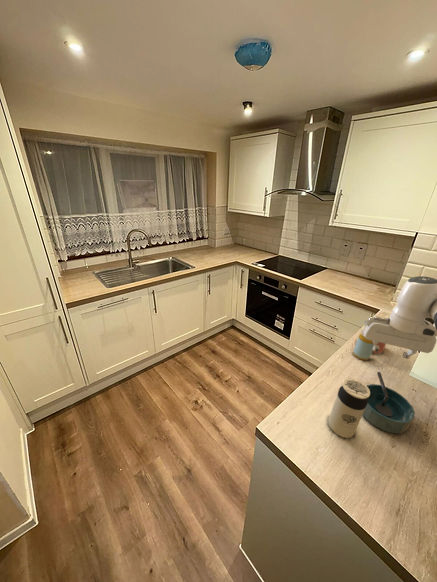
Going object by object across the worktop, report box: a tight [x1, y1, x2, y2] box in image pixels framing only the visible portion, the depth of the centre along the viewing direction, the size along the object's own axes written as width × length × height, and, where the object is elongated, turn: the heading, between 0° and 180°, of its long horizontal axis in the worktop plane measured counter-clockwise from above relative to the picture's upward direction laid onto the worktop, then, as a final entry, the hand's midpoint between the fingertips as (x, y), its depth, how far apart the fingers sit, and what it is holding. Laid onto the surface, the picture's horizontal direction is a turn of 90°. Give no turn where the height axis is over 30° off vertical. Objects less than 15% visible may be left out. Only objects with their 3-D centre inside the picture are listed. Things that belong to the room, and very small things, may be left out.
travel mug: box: [327, 377, 370, 439], centre depth 74 cm, size 8×8×18 cm
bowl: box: [362, 383, 416, 434], centre depth 82 cm, size 15×15×6 cm
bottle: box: [352, 326, 374, 361], centre depth 108 cm, size 7×7×15 cm
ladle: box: [374, 371, 393, 418], centre depth 86 cm, size 5×17×7 cm, turn 159°
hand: (390, 353), depth 85 cm, fingers open, 8 cm apart
